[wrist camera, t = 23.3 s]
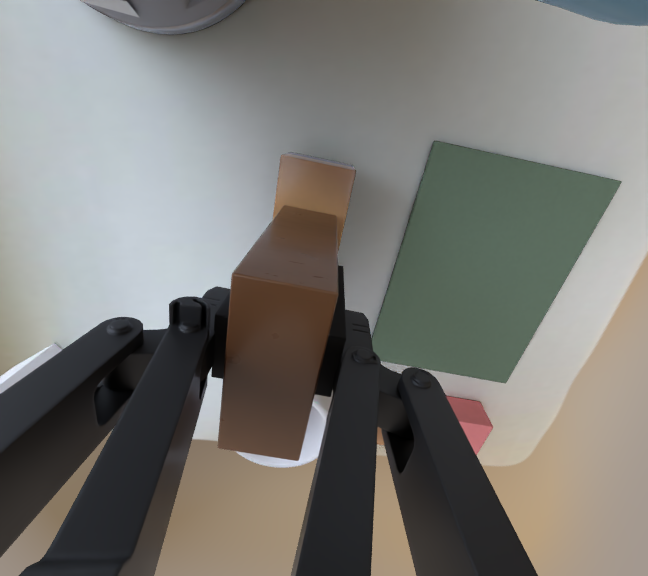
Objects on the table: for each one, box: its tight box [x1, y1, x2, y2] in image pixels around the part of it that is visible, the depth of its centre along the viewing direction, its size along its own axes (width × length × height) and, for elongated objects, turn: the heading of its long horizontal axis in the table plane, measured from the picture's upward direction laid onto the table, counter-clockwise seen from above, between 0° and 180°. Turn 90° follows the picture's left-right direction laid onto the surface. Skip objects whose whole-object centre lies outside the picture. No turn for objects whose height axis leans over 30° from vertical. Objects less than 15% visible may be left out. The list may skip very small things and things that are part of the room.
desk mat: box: [372, 141, 621, 383], centre depth 26 cm, size 18×13×1 cm
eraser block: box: [446, 396, 493, 455], centre depth 31 cm, size 4×4×3 cm
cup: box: [236, 390, 333, 468], centre depth 26 cm, size 11×8×8 cm
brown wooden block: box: [218, 152, 356, 461], centre depth 17 cm, size 12×4×14 cm, turn 169°
